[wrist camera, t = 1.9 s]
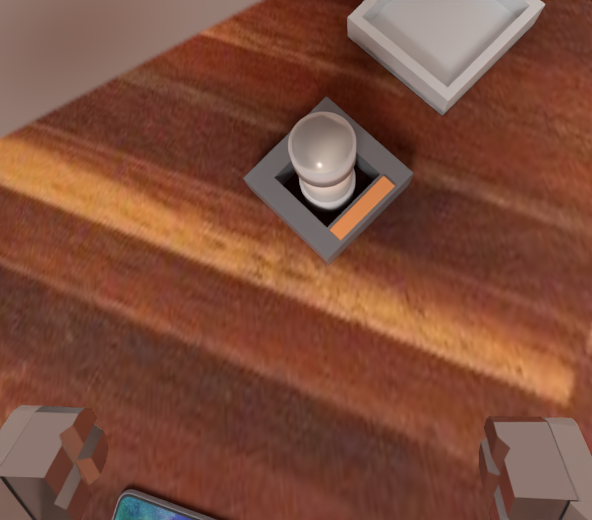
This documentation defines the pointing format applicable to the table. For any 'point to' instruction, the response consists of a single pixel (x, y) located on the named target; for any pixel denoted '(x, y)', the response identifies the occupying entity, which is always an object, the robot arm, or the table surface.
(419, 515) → the table surface
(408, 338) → the table surface
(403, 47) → the tray
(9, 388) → the table surface
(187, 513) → the smartphone
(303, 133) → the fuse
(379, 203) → the block
